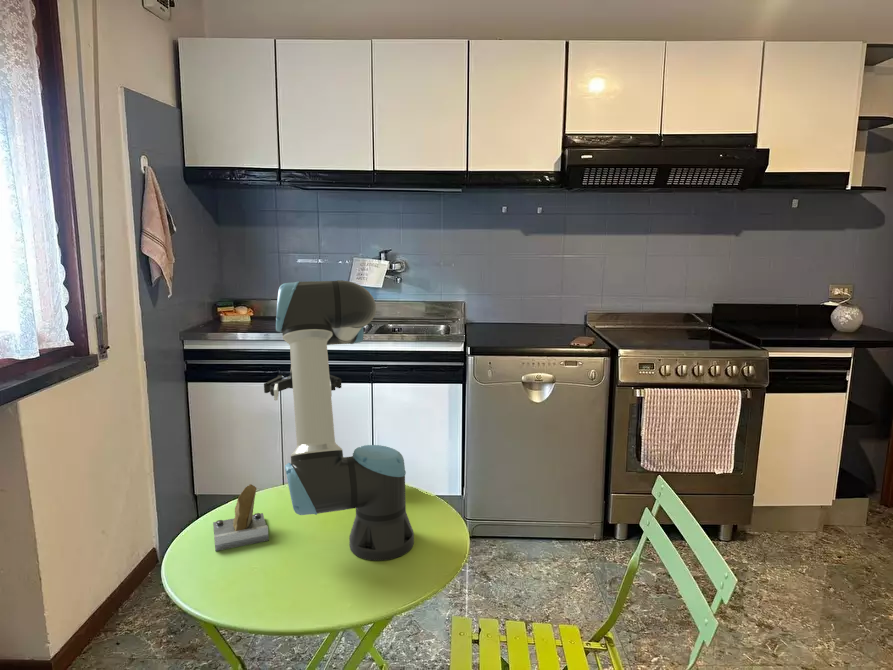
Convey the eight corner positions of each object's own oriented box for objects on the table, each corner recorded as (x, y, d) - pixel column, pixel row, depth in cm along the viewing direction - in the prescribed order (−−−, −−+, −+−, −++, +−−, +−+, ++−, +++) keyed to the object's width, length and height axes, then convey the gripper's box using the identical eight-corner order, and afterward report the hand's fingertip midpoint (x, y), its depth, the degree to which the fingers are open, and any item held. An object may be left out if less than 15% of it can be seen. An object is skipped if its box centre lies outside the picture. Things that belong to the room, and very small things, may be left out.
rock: (251, 532, 141) (274, 507, 150) (227, 504, 140) (252, 481, 149) (224, 550, 145) (248, 525, 154) (201, 523, 145) (227, 500, 154)
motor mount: (268, 540, 144) (267, 526, 144) (215, 551, 140) (214, 537, 139) (263, 518, 155) (262, 505, 155) (213, 527, 151) (212, 514, 150)
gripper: (347, 383, 178) (352, 403, 158) (259, 389, 173) (253, 411, 152) (346, 358, 177) (351, 375, 156) (257, 363, 171) (251, 382, 151)
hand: (303, 393), depth 154 cm, fingers open, 13 cm apart
